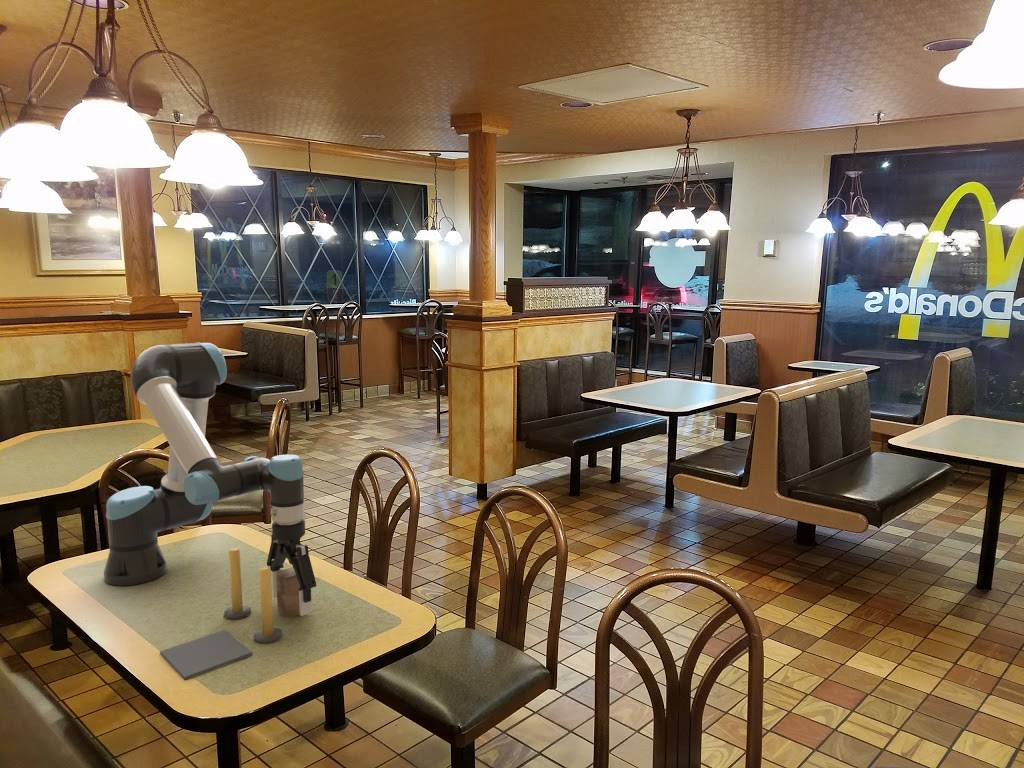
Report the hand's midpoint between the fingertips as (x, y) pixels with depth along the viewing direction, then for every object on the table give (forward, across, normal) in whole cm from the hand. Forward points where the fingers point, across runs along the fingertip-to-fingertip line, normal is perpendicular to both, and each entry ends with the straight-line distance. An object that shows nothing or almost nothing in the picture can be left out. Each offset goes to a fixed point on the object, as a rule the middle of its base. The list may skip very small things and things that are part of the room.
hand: (291, 604), depth 172 cm
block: (+2, 0, 0) cm, 2 cm away
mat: (+2, +6, -23) cm, 24 cm away
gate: (+2, 0, -10) cm, 10 cm away
